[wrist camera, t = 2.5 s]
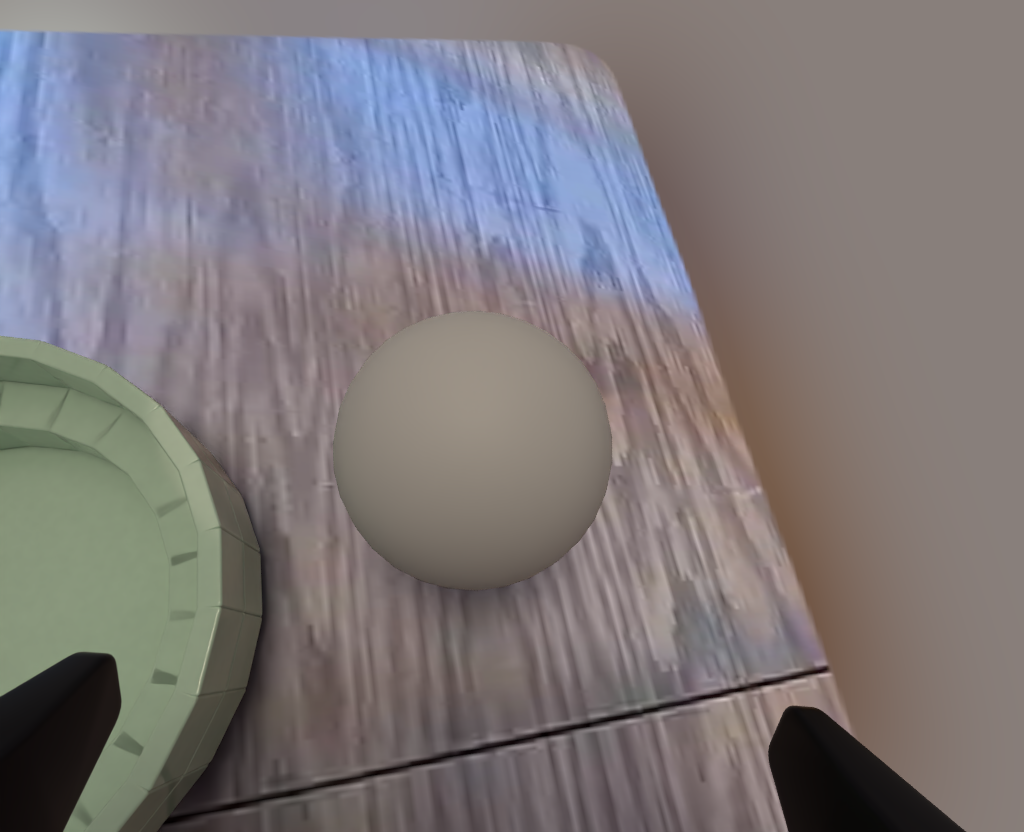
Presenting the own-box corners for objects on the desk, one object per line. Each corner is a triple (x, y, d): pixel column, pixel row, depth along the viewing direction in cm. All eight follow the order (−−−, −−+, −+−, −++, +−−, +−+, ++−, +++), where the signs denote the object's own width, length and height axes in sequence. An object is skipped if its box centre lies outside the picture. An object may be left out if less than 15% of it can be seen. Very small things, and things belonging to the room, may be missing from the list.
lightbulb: (531, 630, 19) (642, 598, 9) (348, 598, 19) (257, 528, 9) (554, 458, 22) (662, 286, 12) (392, 427, 21) (360, 221, 11)
